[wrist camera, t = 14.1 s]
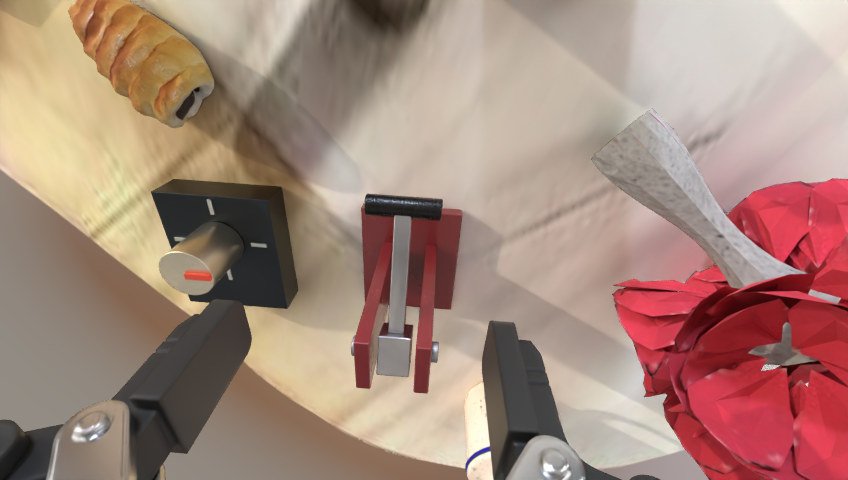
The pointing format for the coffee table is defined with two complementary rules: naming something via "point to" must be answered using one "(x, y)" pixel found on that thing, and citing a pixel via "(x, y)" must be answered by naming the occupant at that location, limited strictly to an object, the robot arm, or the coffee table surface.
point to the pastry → (143, 58)
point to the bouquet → (742, 315)
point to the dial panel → (255, 223)
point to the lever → (399, 276)
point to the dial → (201, 258)
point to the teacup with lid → (478, 436)
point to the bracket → (425, 289)
